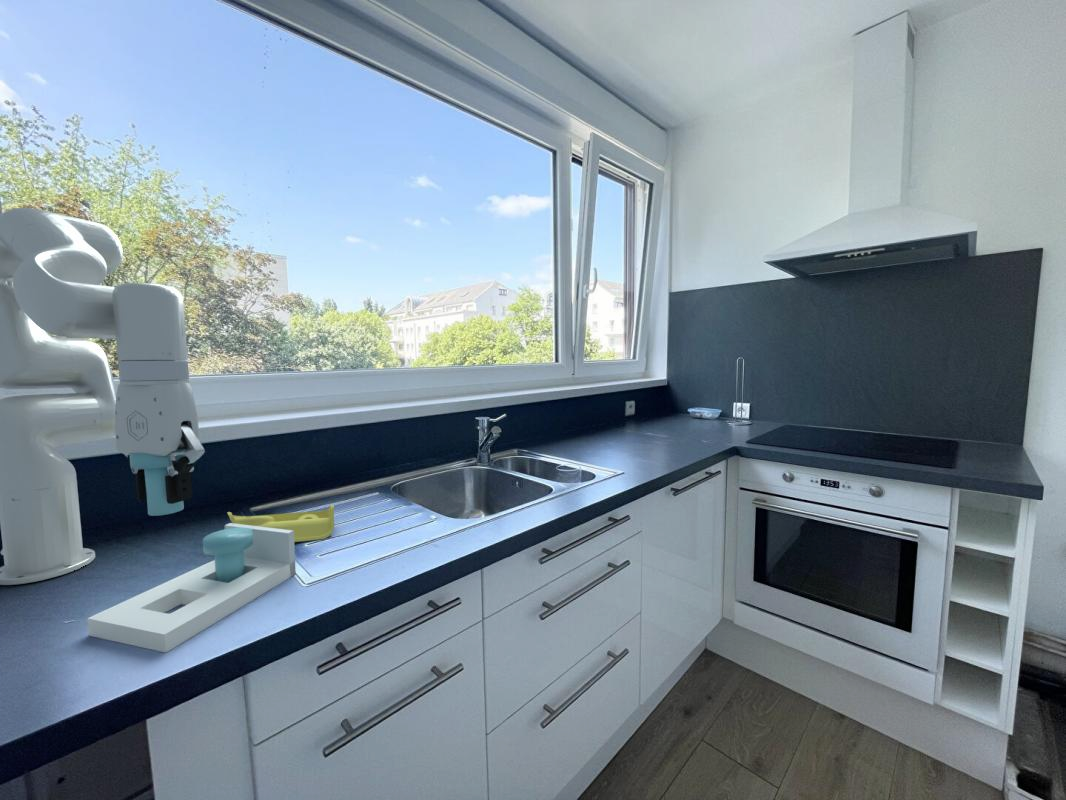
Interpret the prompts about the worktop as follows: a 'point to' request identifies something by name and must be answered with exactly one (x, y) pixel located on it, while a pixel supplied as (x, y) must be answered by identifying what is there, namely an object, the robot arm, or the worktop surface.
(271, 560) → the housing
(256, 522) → the plastic component
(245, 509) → the worktop surface
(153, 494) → the teal round plug
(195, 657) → the worktop surface
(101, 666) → the worktop surface
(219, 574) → the teal flanged peg
